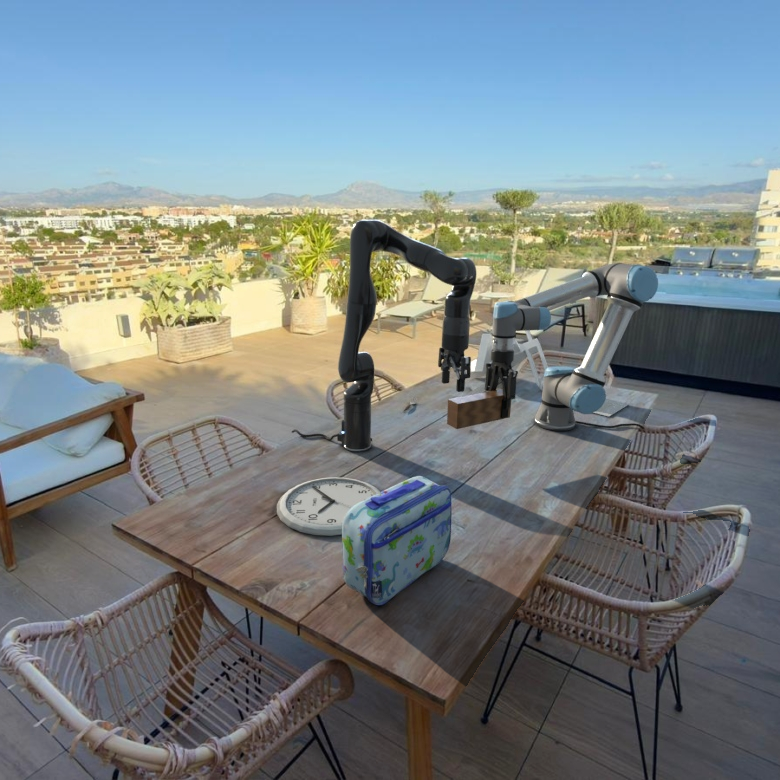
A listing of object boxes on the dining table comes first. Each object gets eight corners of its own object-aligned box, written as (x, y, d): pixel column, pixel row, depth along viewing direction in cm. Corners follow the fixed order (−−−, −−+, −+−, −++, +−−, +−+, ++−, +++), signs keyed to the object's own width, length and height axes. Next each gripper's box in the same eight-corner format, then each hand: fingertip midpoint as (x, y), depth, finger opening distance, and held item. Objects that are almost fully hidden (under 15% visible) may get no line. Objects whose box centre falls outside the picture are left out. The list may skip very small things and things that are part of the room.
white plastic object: (488, 419, 266) (468, 396, 241) (469, 346, 288) (449, 319, 263) (559, 395, 254) (545, 368, 229) (533, 321, 276) (519, 290, 251)
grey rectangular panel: (608, 416, 214) (573, 407, 224) (608, 416, 214) (573, 408, 224) (628, 404, 229) (594, 396, 238) (628, 405, 229) (594, 397, 238)
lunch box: (371, 618, 102) (371, 524, 95) (336, 591, 109) (334, 502, 103) (455, 562, 119) (460, 479, 113) (420, 542, 126) (423, 463, 120)
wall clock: (392, 527, 129) (268, 531, 127) (391, 533, 130) (269, 537, 127) (383, 473, 158) (282, 475, 155) (383, 478, 158) (282, 480, 156)
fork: (400, 412, 215) (400, 407, 215) (412, 400, 229) (412, 396, 229) (406, 412, 214) (406, 408, 214) (418, 401, 229) (418, 397, 228)
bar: (499, 412, 185) (501, 389, 182) (509, 417, 180) (511, 393, 178) (446, 423, 174) (447, 399, 172) (456, 429, 170) (457, 403, 167)
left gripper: (431, 328, 151) (429, 381, 156) (456, 337, 138) (453, 395, 143) (454, 326, 154) (451, 379, 158) (481, 335, 141) (477, 392, 146)
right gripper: (476, 345, 180) (472, 408, 187) (513, 356, 165) (508, 424, 172) (493, 342, 184) (489, 405, 191) (530, 353, 168) (525, 420, 175)
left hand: (452, 387), depth 151 cm, fingers open, 8 cm apart
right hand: (498, 414), depth 181 cm, fingers closed on bar, 5 cm apart
